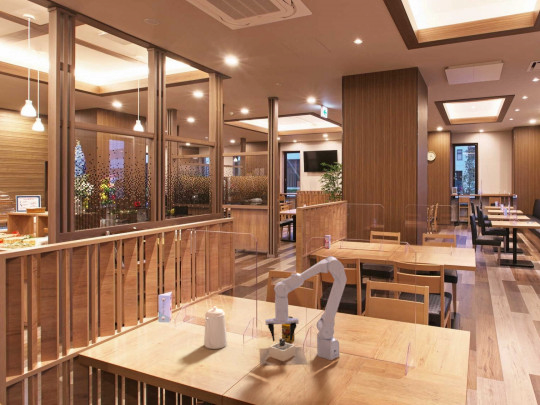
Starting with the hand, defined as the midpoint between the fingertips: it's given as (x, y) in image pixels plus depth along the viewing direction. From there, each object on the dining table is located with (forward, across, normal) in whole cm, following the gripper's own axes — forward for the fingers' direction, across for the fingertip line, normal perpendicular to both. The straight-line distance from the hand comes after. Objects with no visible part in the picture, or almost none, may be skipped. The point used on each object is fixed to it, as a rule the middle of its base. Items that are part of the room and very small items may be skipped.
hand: (282, 340), depth 182 cm
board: (+8, 0, 0) cm, 8 cm away
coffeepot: (+8, -31, +16) cm, 36 cm away
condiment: (+8, +4, +19) cm, 21 cm away
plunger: (+6, 0, 0) cm, 6 cm away
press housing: (+7, 0, 0) cm, 7 cm away
